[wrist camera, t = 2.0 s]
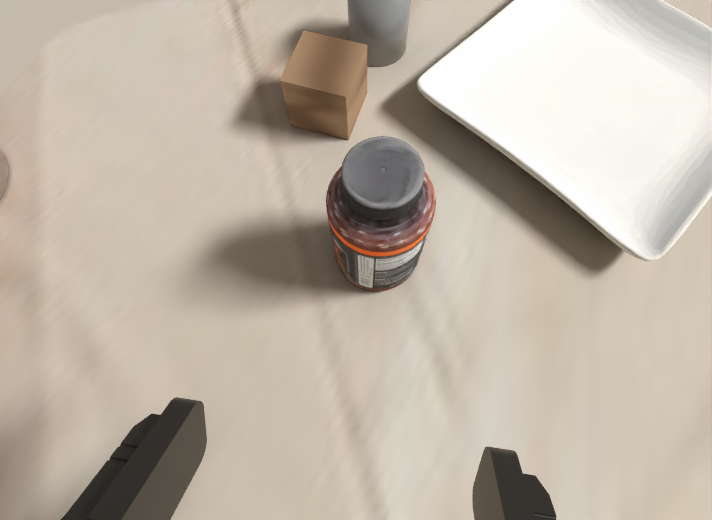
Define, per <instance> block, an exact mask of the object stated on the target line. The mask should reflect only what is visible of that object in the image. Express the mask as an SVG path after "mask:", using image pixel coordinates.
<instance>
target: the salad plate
mask: <svg viewBox="0 0 712 520" xmlns="http://www.w3.org/2000/svg"><path fill="white" fill-rule="evenodd" d="M417 87H418V90H419V91H420V92H421V93H422V95H423V96H424V97H425V98H426V99H427V100H429V101H430V102H431V103H432V104H434V105H435V106H436V107H438V108H439V109H440V110H442V111H443V112H445V113H446V114H448V115H449V116H450V117H452V118H453V119H455V120H456V121H458V122H459V123H461V124H462V125H464V126H465V127H466V128H468V129H469V130H471V131H472V132H474V133H475V134H476V135H478V136H479V137H481V138H482V139H483V140H485V141H486V142H488V143H489V144H490V145H492V146H493V147H494V148H496V149H497V150H499V151H500V152H501V153H503V154H504V155H505V156H506V157H508V158H509V159H510V160H512V161H513V162H514V163H516V164H517V165H518V166H520V167H521V168H522V169H524V170H525V171H526V172H528V173H529V174H530V175H532V176H533V177H534V178H535V179H537V180H538V181H539V182H541V183H542V184H543V185H545V186H546V187H547V188H548V189H550V190H551V191H552V192H553V193H555V194H556V195H557V196H558V197H560V198H561V199H562V200H563V201H565V202H566V203H567V204H568V205H569V206H571V207H572V208H573V209H574V210H576V211H577V212H578V213H579V214H580V215H582V216H583V217H584V218H585V219H586V220H588V221H589V222H590V223H591V224H592V225H593V226H595V227H596V228H597V229H598V230H599V231H600V232H602V233H603V234H604V235H605V236H606V237H607V238H608V239H610V240H611V241H612V242H613V243H615V244H616V245H617V246H619V247H620V248H621V249H623V250H624V251H626V252H627V253H629V254H630V255H632V256H634V257H636V258H638V259H641V260H644V261H650V262H651V261H655V260H658V259H660V258H661V257H662V256H663V255H664V254H666V253H667V251H668V250H669V249H670V248H671V247H672V246H673V245H674V244H675V242H676V241H677V240H678V239H679V238H680V237H681V235H682V234H683V233H684V232H685V230H686V229H687V228H688V226H689V225H690V224H691V222H692V221H693V220H694V218H695V217H696V216H697V214H698V213H699V212H700V210H701V209H702V208H703V206H704V205H705V204H706V202H707V201H708V200H709V199H710V197H711V196H712V28H710V27H709V26H707V25H705V24H703V23H702V22H700V21H698V20H696V19H695V18H693V17H691V16H689V15H688V14H686V13H684V12H682V11H681V10H679V9H677V8H675V7H673V6H671V5H670V4H668V3H666V2H664V1H663V0H513V1H512V2H511V3H510V4H508V5H507V6H506V7H505V8H504V9H502V10H501V11H500V12H499V13H498V14H496V15H495V16H494V17H493V18H492V19H490V20H489V21H488V22H487V23H485V24H484V25H483V26H482V27H481V28H479V29H478V30H477V31H475V32H474V33H473V34H472V35H470V36H469V37H468V38H467V39H465V40H464V41H463V42H462V43H460V44H459V45H458V46H457V47H455V48H454V49H453V50H452V51H450V52H449V53H448V54H446V55H445V56H444V57H443V58H442V59H440V60H439V61H438V62H437V63H435V64H434V65H433V66H432V67H430V68H429V69H428V70H427V71H426V72H425V73H423V74H422V75H421V76H420V77H419V79H418V80H417Z"/></svg>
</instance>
